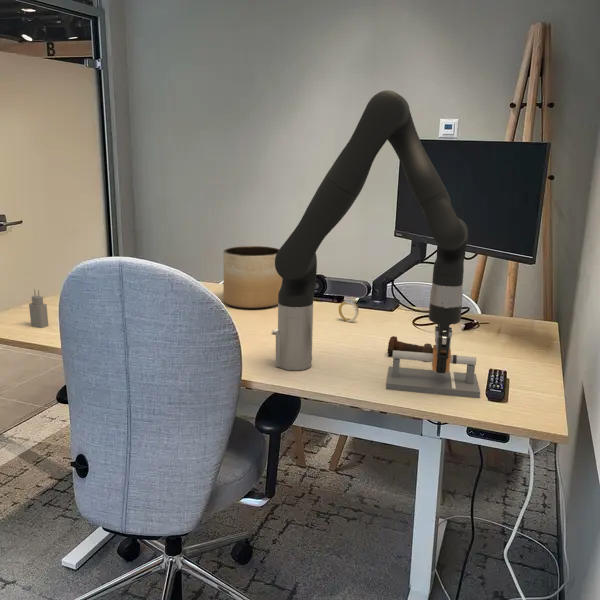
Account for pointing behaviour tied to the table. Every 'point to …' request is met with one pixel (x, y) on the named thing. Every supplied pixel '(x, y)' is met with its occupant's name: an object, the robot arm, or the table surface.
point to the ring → (350, 301)
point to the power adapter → (38, 312)
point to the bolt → (407, 347)
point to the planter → (251, 277)
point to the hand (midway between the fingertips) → (440, 368)
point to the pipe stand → (433, 376)
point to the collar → (434, 363)
